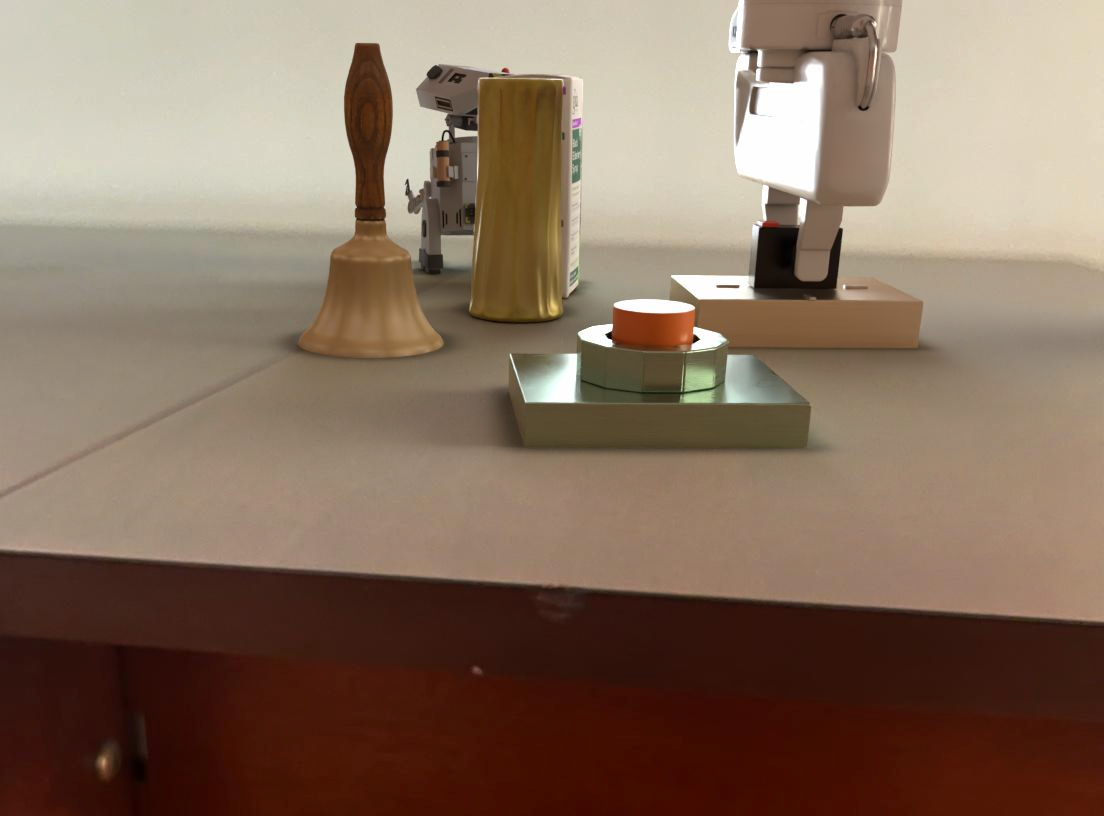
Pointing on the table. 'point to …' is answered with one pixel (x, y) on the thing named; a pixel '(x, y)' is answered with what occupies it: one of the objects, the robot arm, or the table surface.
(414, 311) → the hand bell
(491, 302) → the vase
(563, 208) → the syrup box
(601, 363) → the button box
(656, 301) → the button
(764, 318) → the tan slotted base
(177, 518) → the table surface
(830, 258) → the black battery pack
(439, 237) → the figurine
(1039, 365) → the table surface
